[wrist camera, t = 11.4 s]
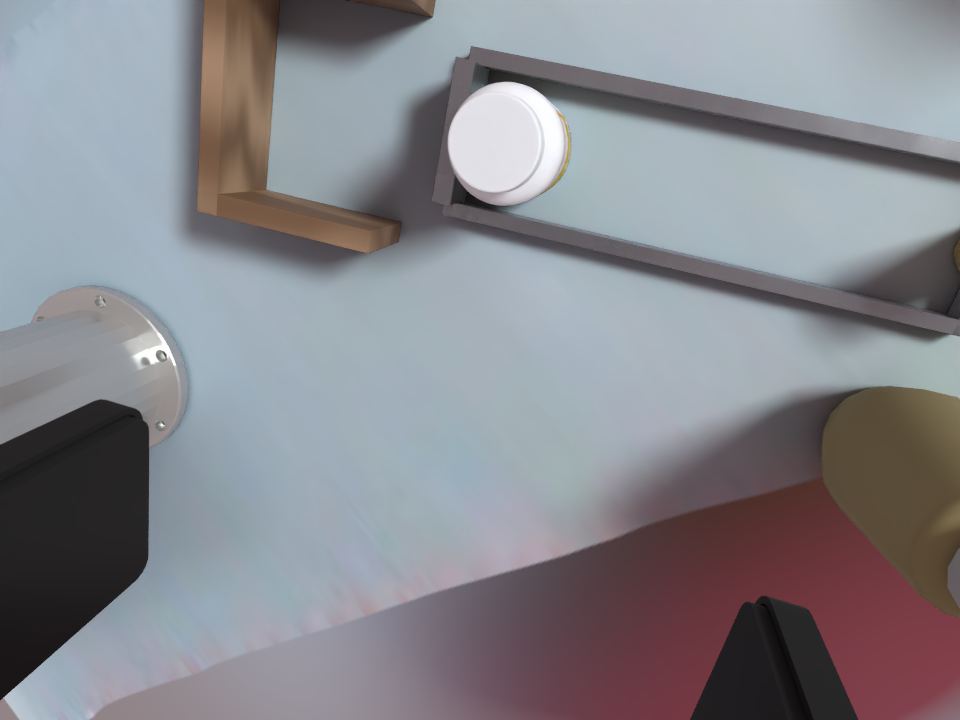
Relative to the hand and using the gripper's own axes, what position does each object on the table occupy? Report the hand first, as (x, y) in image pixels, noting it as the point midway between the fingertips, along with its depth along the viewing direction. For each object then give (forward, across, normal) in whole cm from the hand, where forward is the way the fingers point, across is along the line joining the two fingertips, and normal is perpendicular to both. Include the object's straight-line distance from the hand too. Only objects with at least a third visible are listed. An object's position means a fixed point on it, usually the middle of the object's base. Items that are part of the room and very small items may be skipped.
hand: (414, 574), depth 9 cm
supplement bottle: (+28, +4, -6) cm, 29 cm away
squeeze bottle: (+28, -20, +5) cm, 35 cm away
